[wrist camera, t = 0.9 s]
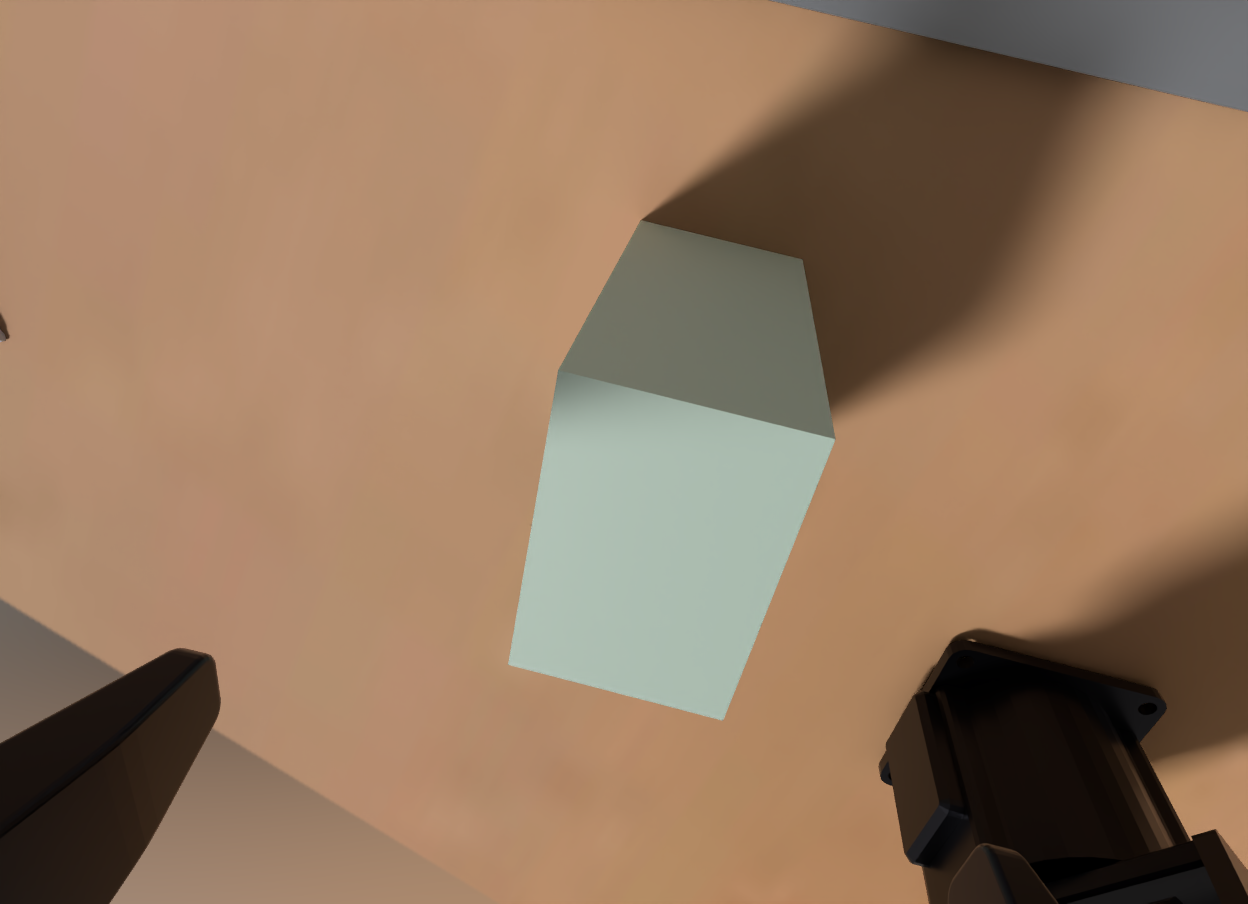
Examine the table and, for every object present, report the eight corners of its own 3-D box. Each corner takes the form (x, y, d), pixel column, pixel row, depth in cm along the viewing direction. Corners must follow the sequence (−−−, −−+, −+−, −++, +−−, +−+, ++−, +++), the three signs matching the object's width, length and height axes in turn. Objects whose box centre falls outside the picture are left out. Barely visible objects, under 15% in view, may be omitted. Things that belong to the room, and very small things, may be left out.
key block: (802, 259, 18) (835, 439, 11) (734, 465, 22) (723, 720, 14) (640, 220, 19) (558, 369, 11) (596, 431, 22) (508, 664, 14)
